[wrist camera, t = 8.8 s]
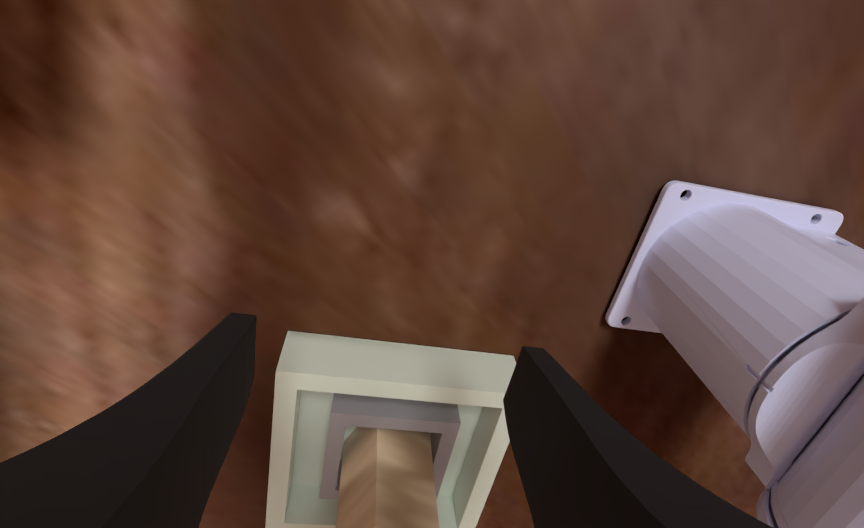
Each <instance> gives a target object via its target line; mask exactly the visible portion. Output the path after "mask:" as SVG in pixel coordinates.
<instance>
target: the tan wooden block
mask: <svg viewBox="0 0 864 528" xmlns="http://www.w3.org/2000/svg"><path fill="white" fill-rule="evenodd" d="M336 528H439V520H438V510H437V500H436V490H435V480H434V470H433V460H432V450H431V439H430V432H418V431H405V430H393V429H381V428H368V427H356V428H355V430H354V431H353V432H352V433H351V434H350V435H349V436H348V437H347V439H346V440H345V441H344V447H343V457H342V467H341V477H340V488H339V498H338V508H337V518H336Z"/></svg>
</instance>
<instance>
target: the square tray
mask: <svg viewBox="0 0 864 528" xmlns="http://www.w3.org/2000/svg"><path fill="white" fill-rule="evenodd" d="M515 366H516V362H515V359H514V356H511V355H502V354H493V353H484V352H475V351H466V350H457V349H448V348H439V347H430V346H421V345H412V344H403V343H394V342H385V341H376V340H367V339H358V338H349V337H340V336H331V335H322V334H313V333H304V332H295V331H288V332H287V335H286V339H285V342H284V345H283V349H282V352H281V355H280V359H279V362H278V365H277V369H276V376H275V391H274V406H273V421H272V436H271V451H270V466H269V481H268V496H267V511H266V526H265V528H336V518H337V508H338V498H339V488H340V477H341V467H342V457H343V447H344V441H345V440H346V439H347V437H348V436H349V435H350V434H351V433H352V432H353V431H354V430H355V428H356V427H368V428H381V429H393V430H405V431H418V432H430V439H431V450H432V460H433V470H434V480H435V490H436V500H437V510H438V520H439V528H475V527H476V525H477V522H478V520H479V517H480V515H481V512H482V510H483V507H484V504H485V502H486V499H487V497H488V494H489V492H490V489H491V487H492V484H493V482H494V479H495V477H496V474H497V472H498V469H499V466H500V464H501V461H502V459H503V456H504V454H505V451H506V449H507V446H508V444H509V441H510V439H509V435H508V430H507V424H506V418H505V411H504V404H503V399H504V396H505V393H506V391H507V388H508V385H509V382H510V380H511V377H512V374H513V371H514V369H515Z"/></svg>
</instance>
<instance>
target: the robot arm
mask: <svg viewBox="0 0 864 528" xmlns="http://www.w3.org/2000/svg"><path fill="white" fill-rule="evenodd" d="M685 190H687V193H686V194H685V196H683V197H681V198H680V195H681V193H682V192H683V191H685ZM814 215H815V216H814ZM813 216H814V218H813V219H811V218H812V217H813ZM842 222H843V215H842V214H841V213H839V212H837V211H835V210H831V209H826V208H821V207H815V206H810V205H805V204H799V203H794V202H789V201H783V200H778V199H773V198H767V197H762V196H757V195H751V194H746V193H741V192H735V191H730V190H725V189H719V188H714V187H709V186H703V185H698V184H693V183H687V182H682V181H670V182H668V183H667V184H666V185H665V186H664V187H663V189H662V191H661V193H660V195H659V197H658V200H657V202H656V204H655V206H654V209H653V211H652V213H651V215H650V218H649V220H648V222H647V224H646V226H645V229H644V231H643V233H642V235H641V238H640V240H639V242H638V244H637V246H636V249H635V251H634V253H633V255H632V258H631V260H630V262H629V264H628V267H627V269H626V271H625V273H624V275H623V278H622V280H621V282H620V284H619V287H618V289H617V291H616V293H615V295H614V298H613V300H612V302H611V304H610V307H609V309H608V311H607V313H606V316H605V319H606V322H607V323H608V324H609V325H610V326H612V327H617V328H625V329H633V330H641V331H649V332H656V333H662V334H663V335H664V336H665V337H666V338H667V340H668V341H669V342H670V343H671V344H672V346H673V347H674V348H675V349H676V350H677V352H678V353H679V354H680V355H681V357H682V358H683V359H684V360H685V361H686V363H687V364H688V365H689V366H690V367H691V369H692V370H693V371H694V372H695V373H696V375H697V376H698V377H699V378H700V379H701V381H702V382H703V383H704V384H705V386H706V387H707V388H708V389H709V390H710V392H711V393H712V394H713V395H714V396H715V398H716V399H717V400H718V401H719V402H720V404H721V405H722V406H723V407H724V408H725V410H726V411H727V412H728V413H729V415H730V416H731V417H732V418H733V419H734V421H735V422H736V423H737V424H738V425H739V427H740V428H741V429H742V430H743V431H744V433H745V434H746V435H747V436H748V437H749V439H750V440H751V448H750V450H749V452H748V454H747V456H746V457H745V461H746V462H747V464H748V465H749V466H750V468H751V469H752V470H753V471H754V473H755V474H756V475H757V477H758V478H759V479H760V480H761V482H762V483H763V484H764V486H765V487H766V488H765V489H764V490H763V491H762V493H761V494H760V496H759V499H758V502H757V507H756V516H757V519H756V518H754V517H752V516H750V515H748V514H747V513H745V512H743V511H741V510H740V509H738V508H736V507H735V506H733V505H731V504H730V503H728V502H726V501H725V500H723V499H721V498H720V497H718V496H716V495H715V494H713V493H712V492H710V491H708V490H707V489H705V488H704V487H702V486H701V485H699V484H697V483H696V482H694V481H693V480H692V479H690V478H689V477H687V476H686V475H684V474H683V473H681V472H680V471H679V470H677V469H676V468H674V467H673V466H671V465H670V464H669V463H667V462H666V461H665V460H663V459H662V458H660V457H659V456H658V455H657V454H655V453H654V452H653V451H652V450H650V449H649V448H648V447H647V446H645V445H644V444H643V443H641V442H640V441H639V440H638V439H636V438H635V437H634V436H633V435H632V434H631V433H629V432H628V431H627V430H626V429H625V428H624V427H623V426H621V425H620V424H619V423H618V422H617V421H616V420H615V419H614V418H613V417H612V416H610V415H609V414H608V413H607V412H606V411H605V410H604V409H603V408H602V407H601V406H600V405H599V404H598V403H597V402H596V401H595V400H594V399H593V398H592V397H591V396H590V395H589V394H588V393H587V392H586V391H585V390H584V389H583V388H582V387H581V386H580V385H579V384H578V383H577V382H576V381H575V380H574V379H573V378H572V377H571V376H570V375H569V374H568V373H567V372H566V371H565V370H564V369H563V368H562V367H561V366H560V365H559V363H558V362H557V361H556V360H555V359H554V358H553V357H552V356H551V355H550V354H549V353H547V352H546V351H545V350H544V349H543V348H535V347H526V346H523V347H522V349H521V352H520V355H519V358H518V360H517V363H516V366H515V369H514V371H513V374H512V377H511V380H510V382H509V385H508V388H507V391H506V393H505V396H504V399H503V404H504V411H505V418H506V424H507V430H508V435H509V439H510V443H511V446H512V450H513V453H514V457H515V460H516V464H517V467H518V470H519V474H520V477H521V480H522V484H523V487H524V491H525V494H526V497H527V501H528V504H529V507H530V511H531V515H532V519H533V523H534V527H535V528H864V250H863V249H862V248H860V247H858V246H856V245H854V244H852V243H850V242H848V241H846V240H844V239H842V238H841V237H839V236H837V235H835V233H836V231H837V230H838V228H839V227H840V225H841V224H842ZM625 317H627V318H626V319H625V320H623V321H621V320H622V319H623V318H625ZM255 340H256V315H248V314H239V313H230V314H229V315H227V316H226V317H225V318H224V319H223V320H222V321H221V322H220V323H219V324H218V325H216V326H215V327H214V328H213V329H212V330H211V331H210V332H209V333H208V334H207V335H205V336H204V337H203V338H202V339H201V340H200V341H199V342H197V343H196V344H195V345H194V346H193V347H192V348H190V349H189V350H188V351H187V352H185V353H184V354H183V355H182V356H181V357H179V358H178V359H177V360H176V361H175V362H173V363H172V364H171V365H170V366H168V367H167V368H165V369H164V370H163V371H161V372H160V373H159V374H157V375H156V376H155V377H153V378H152V379H151V380H149V381H148V382H147V383H145V384H144V385H143V386H141V387H140V388H138V389H137V390H135V391H134V392H132V393H131V394H129V395H128V396H126V397H125V398H123V399H122V400H120V401H119V402H117V403H115V404H114V405H112V406H111V407H109V408H107V409H106V410H104V411H103V412H101V413H99V414H97V415H96V416H94V417H92V418H90V419H88V420H86V421H85V422H83V423H81V424H79V425H77V426H75V427H73V428H72V429H70V430H68V431H66V432H64V433H62V434H61V435H59V436H57V437H55V438H53V439H51V440H49V441H47V442H45V443H43V444H40V445H38V446H36V447H34V448H32V449H30V450H28V451H26V452H24V453H21V454H19V455H17V456H15V457H13V458H10V459H8V460H6V461H4V462H1V463H0V528H198V527H199V524H200V521H201V518H202V515H203V511H204V509H205V506H206V503H207V501H208V498H209V495H210V492H211V490H212V488H213V485H214V483H215V481H216V478H217V476H218V473H219V471H220V469H221V466H222V464H223V461H224V459H225V457H226V454H227V452H228V450H229V447H230V445H231V442H232V440H233V438H234V435H235V433H236V430H237V428H238V426H239V423H240V421H241V418H242V416H243V413H244V411H245V407H246V404H247V400H248V397H249V393H250V389H251V386H252V382H253V379H254V365H255Z"/></svg>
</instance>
